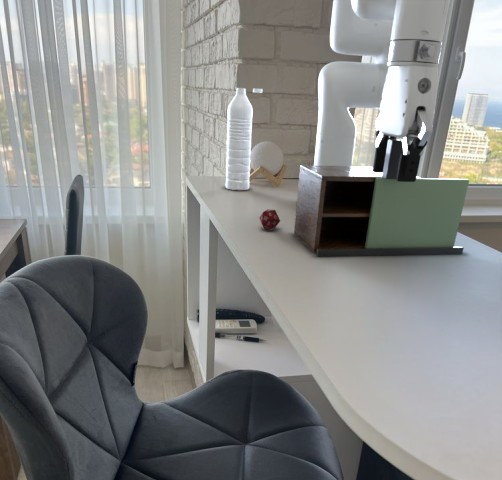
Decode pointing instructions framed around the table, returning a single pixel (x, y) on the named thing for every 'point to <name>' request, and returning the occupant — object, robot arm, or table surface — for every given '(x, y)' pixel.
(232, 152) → the water bottle
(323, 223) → the cabinet
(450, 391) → the table surface
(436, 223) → the sliding door
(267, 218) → the dice
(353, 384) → the table surface
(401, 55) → the robot arm
